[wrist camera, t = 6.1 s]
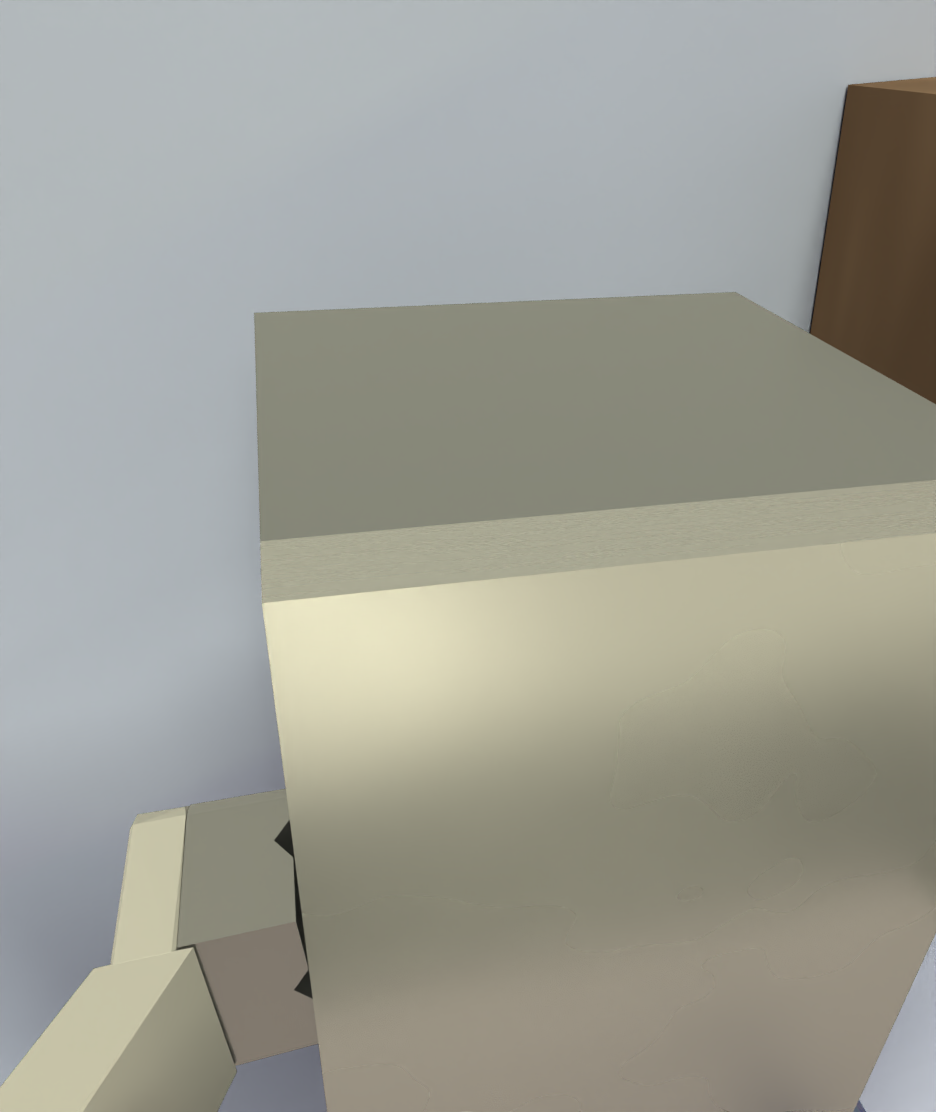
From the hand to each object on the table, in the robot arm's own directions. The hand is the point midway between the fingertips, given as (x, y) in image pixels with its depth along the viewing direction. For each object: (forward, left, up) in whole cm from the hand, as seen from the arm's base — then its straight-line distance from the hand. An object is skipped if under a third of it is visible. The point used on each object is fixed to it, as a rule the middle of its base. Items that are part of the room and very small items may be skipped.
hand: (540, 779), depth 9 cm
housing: (0, 0, -2) cm, 2 cm away
